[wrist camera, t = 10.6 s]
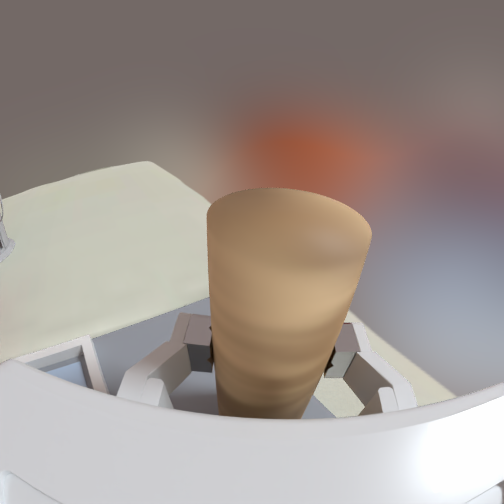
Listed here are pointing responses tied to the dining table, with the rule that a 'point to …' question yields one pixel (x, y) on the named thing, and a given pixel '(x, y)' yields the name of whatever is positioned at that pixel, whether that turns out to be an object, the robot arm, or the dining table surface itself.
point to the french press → (4, 239)
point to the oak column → (278, 295)
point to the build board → (131, 352)
